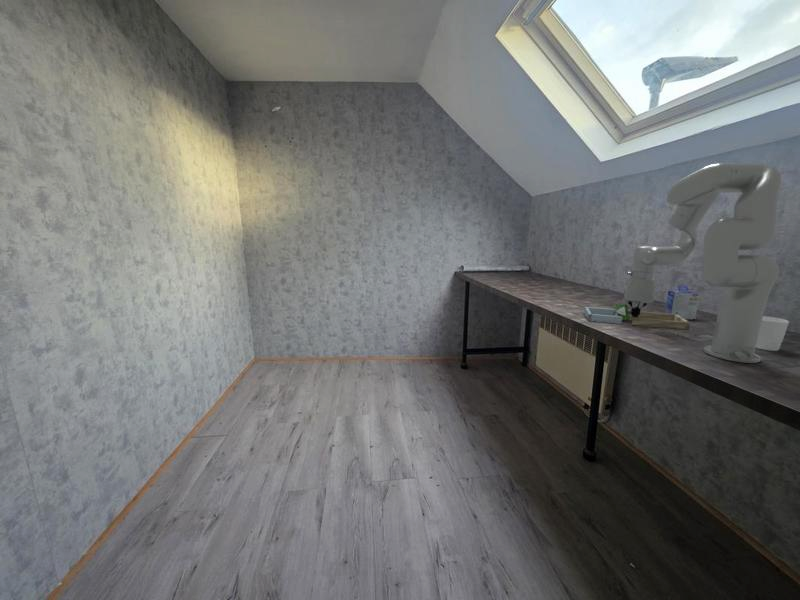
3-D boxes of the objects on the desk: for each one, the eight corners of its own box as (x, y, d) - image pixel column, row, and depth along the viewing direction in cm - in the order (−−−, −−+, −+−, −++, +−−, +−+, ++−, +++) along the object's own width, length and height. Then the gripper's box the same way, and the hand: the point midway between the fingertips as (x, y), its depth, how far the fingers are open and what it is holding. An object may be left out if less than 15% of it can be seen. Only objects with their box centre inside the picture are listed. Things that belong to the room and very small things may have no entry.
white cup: (760, 351, 106) (767, 321, 104) (740, 342, 114) (746, 315, 112) (789, 352, 105) (796, 322, 103) (766, 344, 112) (773, 316, 110)
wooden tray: (688, 330, 128) (690, 322, 128) (632, 324, 136) (633, 317, 135) (675, 320, 141) (676, 314, 141) (624, 316, 149) (625, 310, 148)
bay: (621, 324, 137) (622, 317, 136) (588, 320, 142) (588, 314, 141) (614, 315, 151) (615, 309, 150) (584, 312, 156) (584, 306, 155)
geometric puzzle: (609, 312, 149) (612, 300, 143) (626, 311, 147) (630, 299, 141) (614, 324, 144) (617, 313, 139) (632, 323, 142) (636, 312, 137)
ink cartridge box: (687, 316, 148) (693, 285, 145) (696, 320, 142) (702, 287, 139) (663, 315, 150) (668, 285, 147) (670, 319, 144) (676, 287, 141)
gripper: (622, 275, 137) (616, 316, 141) (666, 277, 131) (658, 321, 135) (619, 273, 144) (613, 312, 148) (660, 275, 138) (653, 316, 142)
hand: (634, 316), depth 142 cm, fingers closed
